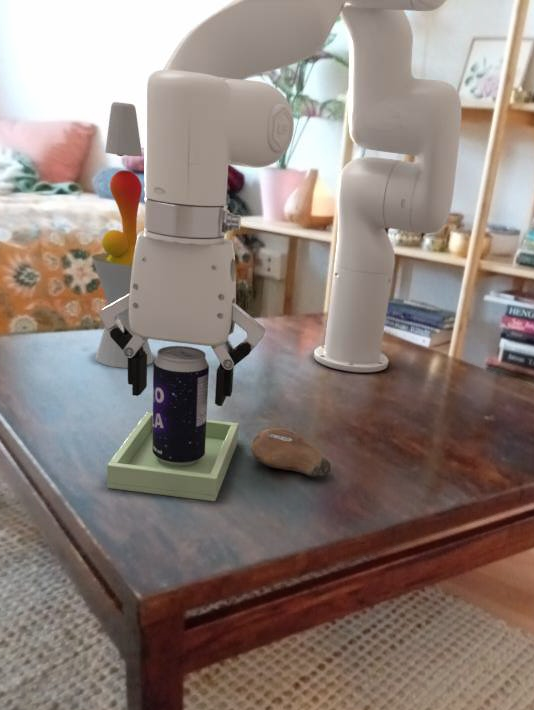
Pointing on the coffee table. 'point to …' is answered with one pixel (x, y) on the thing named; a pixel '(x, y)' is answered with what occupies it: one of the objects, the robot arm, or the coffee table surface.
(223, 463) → the tray
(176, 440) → the beverage can
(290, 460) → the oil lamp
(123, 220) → the lava lamp
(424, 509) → the coffee table surface
